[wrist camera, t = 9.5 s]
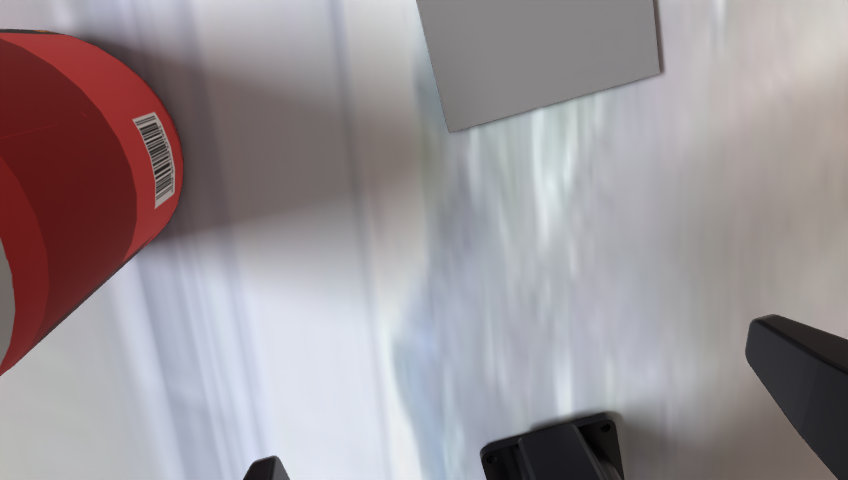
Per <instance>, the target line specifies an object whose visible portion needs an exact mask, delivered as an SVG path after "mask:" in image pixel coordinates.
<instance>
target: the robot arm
mask: <svg viewBox="0 0 848 480" xmlns="http://www.w3.org/2000/svg"><path fill="white" fill-rule="evenodd" d="M745 355H746V358H747V361H748V363H749V365H750V366H751V368H752V369H753V370H754V372H755V373H756V375H757V376H758V377H759V379H760V380H761V382H762V383H763V384H764V386H765V387H766V389H767V390H768V391H769V393H770V394H771V396H772V397H773V398H774V400H775V401H776V403H777V404H778V405H779V407H780V408H781V410H782V411H783V412H784V414H785V415H786V417H787V418H788V420H789V421H790V422H791V424H792V425H793V426H794V428H795V429H796V430H797V432H798V433H799V434H800V435H801V437H802V438H803V439H804V440H805V441H806V443H807V444H808V445H809V446H810V447H811V449H812V450H813V451H814V452H815V453H816V454H817V456H818V457H819V458H820V459H821V460H822V461H823V462H824V464H825V465H826V466H827V467H828V468H829V469H830V471H831V472H832V473H833V474H834V475H835V476H836V478H837V479H838V480H848V340H847V339H844V338H842V337H839V336H836V335H833V334H830V333H827V332H825V331H822V330H819V329H816V328H813V327H810V326H808V325H805V324H802V323H799V322H796V321H793V320H791V319H788V318H785V317H782V316H779V315H775V314H771V315H767V316H763V317H760V318H756V319H754V320H752V322H751V323H750V325H749V331H748V337H747V342H746V348H745ZM603 424H606V425H605V426H603V427H601V426H602V425H603ZM490 455H494V456H493V457H488V456H490ZM480 458H481V462H482V466H483V469H484V473H485V476H486V479H487V480H624V474H623V468H622V462H621V456H620V450H619V443H618V437H617V431H616V425H615V423H614V421H613V420H612V418H611V417H610V416H609V415H608V414H599V415H596V416H592V417H588V418H585V419H581V420H577V421H574V422H570V423H567V424H563V425H559V426H556V427H552V428H548V429H545V430H541V431H537V432H534V433H530V434H527V435H523V436H519V437H516V438H512V439H508V440H505V441H501V442H497V443H494V444H490V445H487V446H485V447H483V448H482V449H481V451H480ZM243 480H290V479H289V477H288V475H287V473H286V471H285V469H284V466H283V464H282V462H281V460H280V459H279V458H278V457H277V456H270V457H266V458H263V459H259V460H256V461H255V462H253V463H252V464H251V466H250V468H249V470H248V471H247V473H246V475H245V477H244V479H243Z"/></svg>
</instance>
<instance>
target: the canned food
mask: <svg viewBox="0 0 848 480" xmlns="http://www.w3.org/2000/svg"><path fill="white" fill-rule="evenodd" d="M182 183H183V154H182V148H181V143H180V138H179V136H178V133H177V130H176V128H175V125H174V122H173V120H172V118H171V116H170V114H169V113H168V111H167V109H166V108H165V106H164V104H163V103H162V101H161V99H160V98H159V97H158V96H157V95H156V93H155V92H154V91H153V90H152V89H151V87H150V86H149V85H148V84H147V83H146V82H145V81H144V80H143V79H142V78H141V77H140V76H139V75H137V74H136V73H135V72H134V71H133V70H132V69H130V68H129V67H128V66H127V65H125V64H124V63H122V62H121V61H119V60H118V59H116V58H115V57H113V56H111V55H110V54H108V53H106V52H105V51H103V50H102V49H100V48H98V47H97V46H94V45H92V44H89V43H87V42H85V41H82V40H80V39H77V38H75V37H72V36H68V35H64V34H59V33H55V32H50V31H43V30H19V29H0V376H1V375H2V374H3V373H5V372H6V371H7V370H9V369H10V368H11V367H13V366H14V365H15V364H16V363H17V362H18V361H19V360H20V359H22V358H23V357H24V356H25V355H26V354H27V353H28V352H29V351H30V350H31V349H33V348H34V347H35V346H36V345H37V344H38V343H39V342H40V341H41V340H42V339H44V338H45V337H46V336H47V335H48V334H49V333H50V332H51V331H52V330H53V329H55V328H56V327H57V326H58V325H59V324H60V323H61V322H62V321H63V320H65V319H66V318H67V317H68V316H69V315H70V314H71V313H72V312H73V311H74V310H76V309H77V308H78V307H79V306H80V305H81V304H82V303H83V302H84V301H85V300H87V299H88V298H89V297H90V296H91V295H92V294H93V293H94V292H95V291H96V290H98V289H99V288H100V287H101V286H102V285H103V284H104V283H105V282H106V281H107V280H109V279H110V278H111V277H112V276H113V275H114V274H115V273H116V272H117V271H118V270H120V269H121V268H122V267H123V266H124V265H125V264H126V263H127V262H128V261H129V260H131V259H132V258H133V257H134V256H135V255H136V254H137V253H138V252H139V251H140V250H142V249H143V248H144V247H145V246H146V245H147V244H148V243H149V242H150V241H151V240H153V239H154V238H155V237H156V236H157V235H158V234H159V233H160V231H161V230H162V229H163V228H164V227H165V226H166V224H167V223H168V222H169V220H170V218H171V216H172V215H173V213H174V211H175V209H176V207H177V205H178V201H179V197H180V193H181V189H182Z"/></svg>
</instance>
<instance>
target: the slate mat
mask: <svg viewBox="0 0 848 480" xmlns="http://www.w3.org/2000/svg"><path fill="white" fill-rule="evenodd" d="M416 2H417V6H418V10H419V14H420V18H421V22H422V26H423V30H424V34H425V39H426V43H427V47H428V51H429V55H430V59H431V63H432V67H433V71H434V75H435V79H436V83H437V87H438V91H439V95H440V99H441V104H442V108H443V112H444V116H445V120H446V124H447V128H448V131H449V133H451V132H455V131H458V130H462V129H465V128H469V127H472V126H476V125H479V124H483V123H486V122H490V121H494V120H497V119H501V118H504V117H508V116H511V115H515V114H518V113H522V112H525V111H529V110H532V109H536V108H540V107H543V106H547V105H550V104H554V103H557V102H561V101H564V100H568V99H571V98H575V97H579V96H582V95H586V94H589V93H593V92H596V91H600V90H603V89H607V88H610V87H614V86H618V85H621V84H625V83H628V82H632V81H635V80H639V79H642V78H646V77H649V76H653V75H657V74H660V71H659V60H658V50H657V39H656V29H655V18H654V8H653V0H416Z"/></svg>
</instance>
